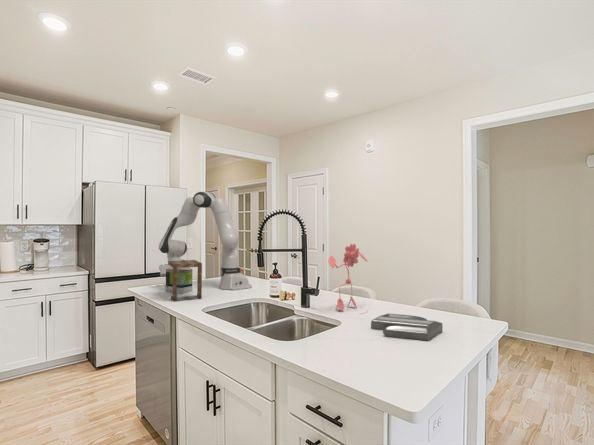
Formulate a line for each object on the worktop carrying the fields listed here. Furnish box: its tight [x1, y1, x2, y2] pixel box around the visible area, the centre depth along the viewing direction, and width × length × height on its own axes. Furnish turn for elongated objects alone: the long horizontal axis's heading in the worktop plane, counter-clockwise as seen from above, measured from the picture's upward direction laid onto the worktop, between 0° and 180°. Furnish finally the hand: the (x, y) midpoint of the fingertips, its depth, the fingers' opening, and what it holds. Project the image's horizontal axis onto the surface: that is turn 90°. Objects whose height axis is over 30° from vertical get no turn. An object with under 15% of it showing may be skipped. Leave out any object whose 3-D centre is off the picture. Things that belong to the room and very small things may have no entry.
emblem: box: [370, 313, 444, 341], centre depth 142 cm, size 28×5×28 cm
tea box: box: [165, 268, 193, 294], centre depth 217 cm, size 15×10×15 cm
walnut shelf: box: [167, 259, 203, 303], centre depth 201 cm, size 16×20×21 cm
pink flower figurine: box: [327, 243, 369, 315], centre depth 172 cm, size 15×26×35 cm, turn 130°
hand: (176, 280), depth 226 cm, fingers closed
